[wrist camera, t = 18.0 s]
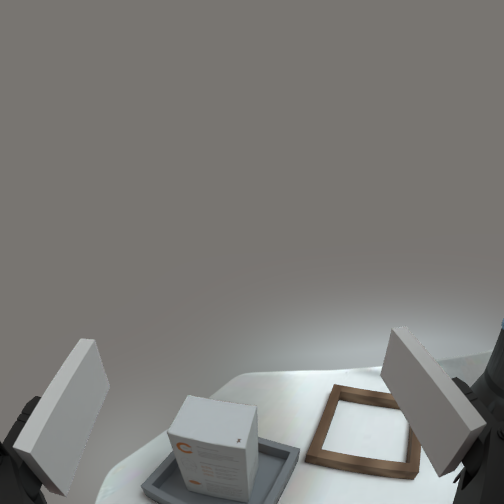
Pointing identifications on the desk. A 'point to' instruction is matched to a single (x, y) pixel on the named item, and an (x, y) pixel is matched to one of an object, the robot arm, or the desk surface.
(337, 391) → the walnut frame
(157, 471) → the slate tray
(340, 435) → the desk surface
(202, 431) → the small box
